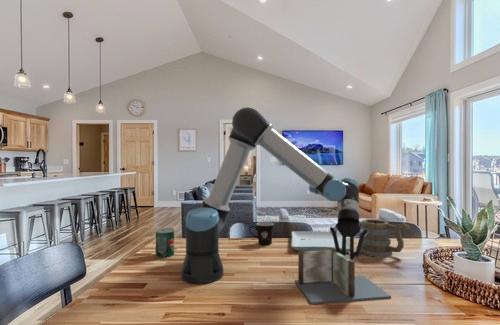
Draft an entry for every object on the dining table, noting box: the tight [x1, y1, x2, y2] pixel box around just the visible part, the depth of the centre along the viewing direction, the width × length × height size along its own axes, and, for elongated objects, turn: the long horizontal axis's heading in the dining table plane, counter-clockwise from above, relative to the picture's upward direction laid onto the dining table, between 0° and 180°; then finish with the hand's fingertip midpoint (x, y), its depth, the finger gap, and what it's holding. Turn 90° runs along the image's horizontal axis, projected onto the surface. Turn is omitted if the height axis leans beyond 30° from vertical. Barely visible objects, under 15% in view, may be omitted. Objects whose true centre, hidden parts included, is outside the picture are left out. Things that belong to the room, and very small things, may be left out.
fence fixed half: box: [297, 249, 336, 284], centre depth 92 cm, size 13×2×10 cm, turn 98°
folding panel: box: [333, 252, 356, 296], centre depth 86 cm, size 10×2×10 cm, turn 13°
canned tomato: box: [155, 227, 175, 259], centre depth 121 cm, size 8×8×11 cm
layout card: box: [294, 275, 392, 305], centre depth 88 cm, size 25×15×1 cm, turn 98°
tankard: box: [360, 218, 411, 258], centre depth 121 cm, size 20×13×15 cm, turn 44°
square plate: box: [290, 230, 350, 254], centre depth 135 cm, size 27×27×4 cm
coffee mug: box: [248, 221, 275, 246], centre depth 138 cm, size 12×9×10 cm
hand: (347, 275), depth 88 cm, fingers closed
